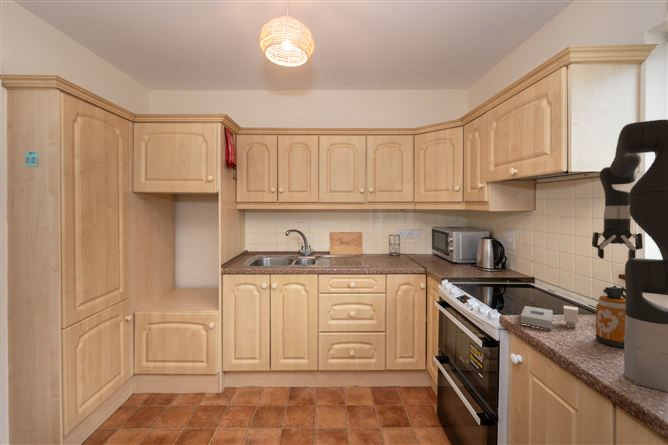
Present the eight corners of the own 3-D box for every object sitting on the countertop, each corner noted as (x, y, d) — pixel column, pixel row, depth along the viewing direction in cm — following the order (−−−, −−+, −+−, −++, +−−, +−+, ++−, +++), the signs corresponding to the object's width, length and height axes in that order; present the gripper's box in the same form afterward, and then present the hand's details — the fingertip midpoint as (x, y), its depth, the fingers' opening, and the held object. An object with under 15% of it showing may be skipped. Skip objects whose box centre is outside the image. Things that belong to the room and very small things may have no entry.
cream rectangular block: (577, 329, 116) (578, 310, 116) (563, 326, 119) (563, 308, 119) (577, 325, 120) (577, 307, 119) (563, 323, 122) (563, 305, 122)
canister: (589, 340, 106) (590, 284, 106) (608, 335, 110) (609, 282, 110) (621, 350, 98) (622, 290, 97) (640, 345, 102) (641, 287, 101)
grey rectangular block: (550, 331, 114) (551, 320, 114) (520, 325, 121) (520, 315, 120) (552, 319, 127) (552, 310, 127) (524, 314, 133) (525, 305, 133)
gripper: (596, 217, 115) (595, 259, 115) (646, 217, 108) (645, 261, 109) (590, 217, 122) (589, 256, 122) (637, 217, 115) (636, 259, 115)
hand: (616, 259), depth 115 cm, fingers open, 8 cm apart
